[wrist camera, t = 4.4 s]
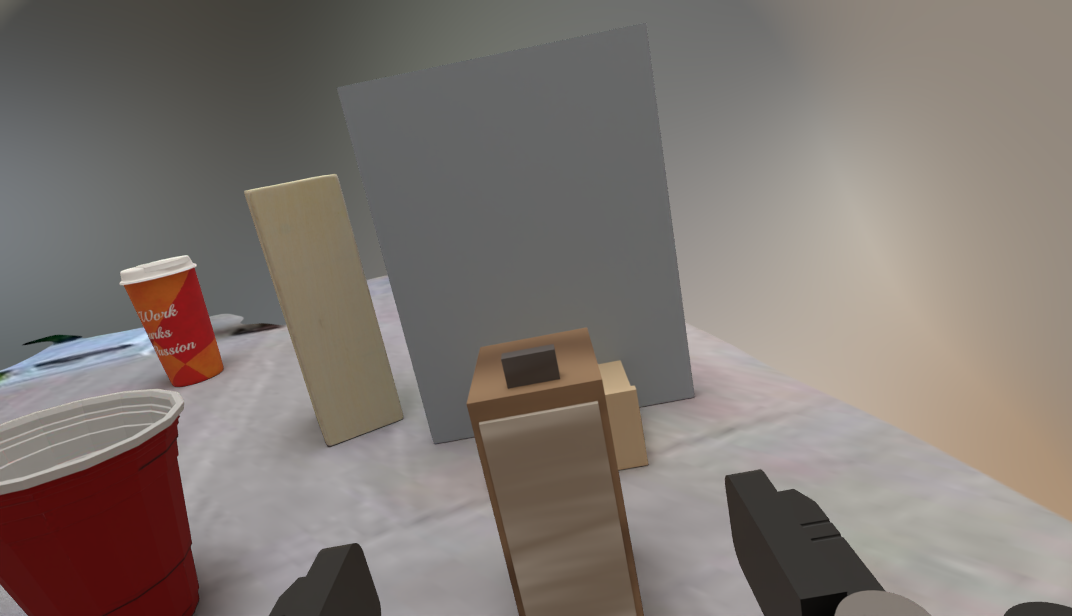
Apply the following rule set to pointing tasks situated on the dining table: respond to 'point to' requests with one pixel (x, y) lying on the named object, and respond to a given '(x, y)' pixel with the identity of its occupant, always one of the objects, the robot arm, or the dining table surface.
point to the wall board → (528, 219)
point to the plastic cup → (96, 509)
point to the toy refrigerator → (326, 304)
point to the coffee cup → (175, 318)
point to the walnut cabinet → (554, 476)
